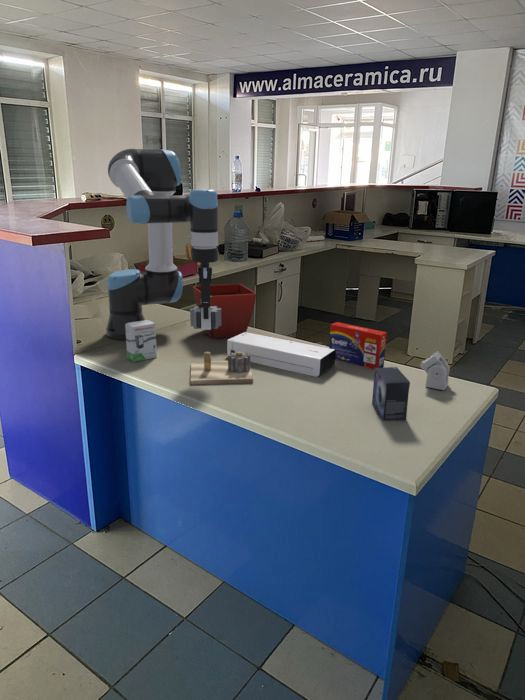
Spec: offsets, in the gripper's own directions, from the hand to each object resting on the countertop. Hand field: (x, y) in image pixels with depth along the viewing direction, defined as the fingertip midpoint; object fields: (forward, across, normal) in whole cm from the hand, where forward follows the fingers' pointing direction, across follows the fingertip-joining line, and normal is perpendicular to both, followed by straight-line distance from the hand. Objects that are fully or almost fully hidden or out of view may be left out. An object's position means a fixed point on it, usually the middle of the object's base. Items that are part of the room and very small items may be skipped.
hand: (206, 324), depth 155 cm
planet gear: (0, 0, 0) cm, 0 cm away
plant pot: (+16, -42, +7) cm, 46 cm away
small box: (+16, +30, +46) cm, 57 cm away
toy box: (+16, -7, +48) cm, 51 cm away
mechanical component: (+16, +14, +65) cm, 69 cm away
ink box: (+16, -16, -21) cm, 31 cm away
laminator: (+16, -9, +23) cm, 30 cm away
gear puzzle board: (+15, 0, +4) cm, 16 cm away
